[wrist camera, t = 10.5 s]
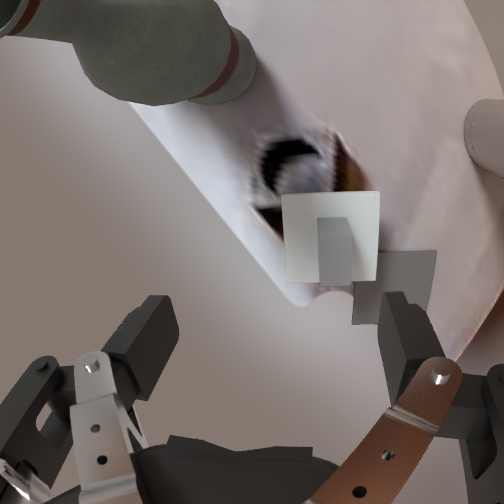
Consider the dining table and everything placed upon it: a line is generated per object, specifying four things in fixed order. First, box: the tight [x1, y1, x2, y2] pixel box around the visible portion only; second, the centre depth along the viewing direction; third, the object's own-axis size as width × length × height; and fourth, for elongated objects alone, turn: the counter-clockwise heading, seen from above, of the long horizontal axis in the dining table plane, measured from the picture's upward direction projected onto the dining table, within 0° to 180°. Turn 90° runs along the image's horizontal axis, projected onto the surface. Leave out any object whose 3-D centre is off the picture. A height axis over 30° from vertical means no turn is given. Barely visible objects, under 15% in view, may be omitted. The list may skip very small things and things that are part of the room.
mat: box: [352, 250, 437, 325], centre depth 40 cm, size 11×11×1 cm
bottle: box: [0, 0, 256, 106], centre depth 19 cm, size 9×9×30 cm
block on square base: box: [281, 191, 380, 286], centre depth 31 cm, size 10×10×6 cm
